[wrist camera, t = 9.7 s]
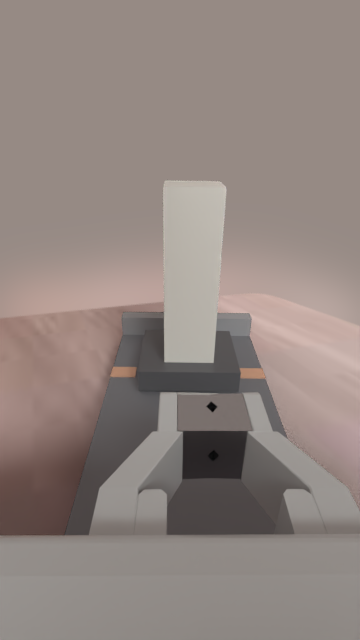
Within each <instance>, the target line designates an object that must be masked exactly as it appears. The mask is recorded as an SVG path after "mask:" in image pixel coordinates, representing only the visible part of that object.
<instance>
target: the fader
mask: <svg viewBox="0 0 360 640" xmlns="http://www.w3.org/2000/svg"><path fill="white" fill-rule="evenodd" d="M225 200H226V187H225V186H224V185H223V184H222V183H221V182H219V181H167V180H166V181H165V183H164V186H163V231H164V232H163V234H164V330H145V334H144V340H143V346H142V351H141V357H140V363H139V368H138V385H139V391H199V392H239V384H240V376H241V371H240V368H239V364H238V360H237V357H236V353H235V349H234V346H233V342H232V338H231V335H230V331H216V324H217V310H218V296H219V283H220V282H219V281H220V269H221V256H222V242H223V241H222V240H223V228H224V214H225Z"/></svg>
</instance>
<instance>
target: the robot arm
mask: <svg viewBox="0 0 360 640" xmlns="http://www.w3.org/2000/svg"><path fill="white" fill-rule="evenodd" d="M203 478H220V479H241V481H242V482H243V484H244V485H245V486H246V487H247V489H248V490H249V491H250V492H251V494H252V495H253V496H254V497H255V499H256V500H257V501H258V503H259V504H260V505H261V506H262V508H263V509H264V510H265V511H266V513H267V514H268V515H269V516H270V518H271V519H272V520H273V522H274V523H275V524H276V528H275V532H274V534H240V535H167V505H168V504H169V502H170V500H171V499H172V497H173V495H174V494H175V492H176V490H177V489H178V487H179V485H180V484H181V482H182V479H203ZM0 640H360V510H359V508H358V506H357V504H356V502H355V500H354V498H353V496H352V495H351V493H350V491H349V489H348V487H346V486H345V485H344V484H343V483H341V482H340V481H339V480H338V479H336V478H335V477H334V476H333V475H331V474H330V473H329V472H328V471H326V470H325V469H324V468H323V467H321V466H320V465H319V464H318V463H316V462H315V461H314V460H313V459H312V458H310V457H309V456H308V455H307V454H305V453H304V452H303V451H302V450H300V449H299V448H298V447H297V446H295V445H294V444H293V443H292V442H290V441H289V440H288V439H287V438H285V437H284V436H283V435H282V434H280V433H279V432H275V431H273V430H272V427H271V424H270V422H269V419H268V416H267V413H266V410H265V407H264V404H263V401H262V398H261V396H260V394H259V393H258V392H248V393H185V392H177V393H176V392H161V393H160V399H159V414H158V429H157V431H154V432H152V433H151V434H150V435H149V436H148V437H147V438H146V439H145V440H144V441H143V442H142V443H141V444H140V445H139V446H138V447H137V448H136V450H135V451H134V452H133V453H132V454H131V455H130V456H129V457H128V458H127V459H126V460H125V461H124V462H123V463H122V464H121V466H120V467H119V468H118V469H117V470H116V471H115V472H114V473H113V474H112V475H111V476H110V477H109V478H108V479H107V480H106V482H105V483H104V484H103V485H102V486H101V487H100V488H99V492H98V497H97V501H96V505H95V510H94V514H93V518H92V523H91V527H90V532H89V535H0Z"/></svg>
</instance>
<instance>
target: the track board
mask: <svg viewBox="0 0 360 640" xmlns="http://www.w3.org/2000/svg"><path fill="white" fill-rule="evenodd" d="M251 320H252V319H251V316H250V314H249V313H217V324H216V331H230V335H231V338H232V342H233V346H234V349H235V353H236V357H237V360H238V364H239V368H240V371H241V376H240V384H239V392H199V391H139V385H138V368H139V363H140V357H141V351H142V346H143V340H144V334H145V330H164V312H123V315H122V330H123V336H122V339H121V342H120V346H119V349H118V353H117V356H116V360H115V363H114V366H113V368H112V372H111V375H110V380H109V384H108V387H107V390H106V394H105V397H104V401H103V404H102V408H101V411H100V414H99V418H98V421H97V425H96V428H95V432H94V435H93V438H92V442H91V445H90V449H89V452H88V456H87V459H86V462H85V466H84V469H83V473H82V476H81V480H80V483H79V486H78V490H77V493H76V497H75V500H74V504H73V507H72V510H71V514H70V517H69V521H68V524H67V528H66V531H65V534H64V535H89V532H90V527H91V523H92V518H93V514H94V510H95V505H96V501H97V497H98V492H99V488H100V487H101V486H102V485H103V484H104V483H105V482H106V480H107V479H108V478H109V477H110V476H111V475H112V474H113V473H114V472H115V471H116V470H117V469H118V468H119V467H120V466H121V464H122V463H123V462H124V461H125V460H126V459H127V458H128V457H129V456H130V455H131V454H132V453H133V452H134V451H135V450H136V448H137V447H138V446H139V445H140V444H141V443H142V442H143V441H144V440H145V439H146V438H147V437H148V436H149V435H150V434H151V433H152V432H154V431H157V429H158V414H159V399H160V393H161V392H176V393H177V392H185V393H248V392H258V393H259V394H260V396H261V398H262V401H263V404H264V407H265V410H266V413H267V416H268V419H269V422H270V424H271V427H272V430H273V431H275V432H279V433H280V434H282V435H283V436H284V437H285V438H287V436H286V433H285V431H284V428H283V425H282V422H281V420H280V417H279V414H278V412H277V409H276V406H275V404H274V401H273V398H272V395H271V393H270V390H269V387H268V385H267V382H266V379H265V375H264V372H263V369H262V368H261V366H260V363H259V360H258V358H257V355H256V352H255V350H254V347H253V344H252V341H251V339H250V328H251ZM275 528H276V524H275V523H274V522H273V520H272V519H271V518H270V516H269V515H268V514H267V513H266V511H265V510H264V509H263V508H262V506H261V505H260V504H259V503H258V501H257V500H256V499H255V497H254V496H253V495H252V494H251V492H250V491H249V490H248V489H247V487H246V486H245V485H244V484H243V482H242V481H241V479H220V478H203V479H182V482H181V484H180V485H179V487H178V489H177V490H176V492H175V494H174V495H173V497H172V499H171V500H170V502H169V504H168V505H167V535H240V534H274V532H275Z"/></svg>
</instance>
